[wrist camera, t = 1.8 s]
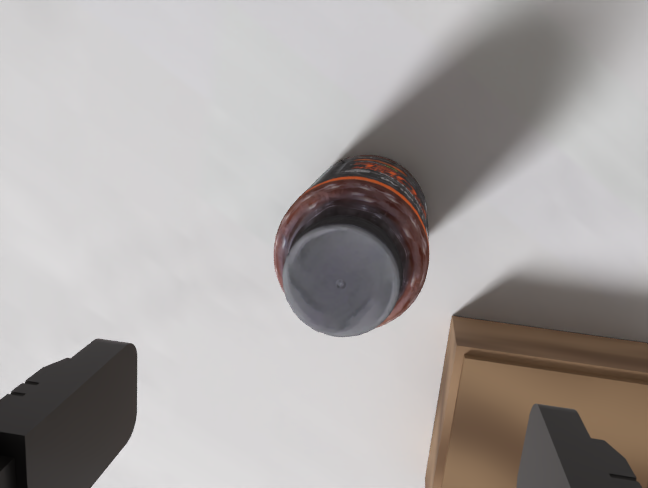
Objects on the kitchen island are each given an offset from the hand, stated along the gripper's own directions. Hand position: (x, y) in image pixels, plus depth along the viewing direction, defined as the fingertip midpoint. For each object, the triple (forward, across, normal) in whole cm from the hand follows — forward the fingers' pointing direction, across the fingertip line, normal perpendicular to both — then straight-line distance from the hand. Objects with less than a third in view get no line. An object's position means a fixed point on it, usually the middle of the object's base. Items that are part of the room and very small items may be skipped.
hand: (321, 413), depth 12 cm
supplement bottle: (+20, 0, 0) cm, 20 cm away
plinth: (+20, -9, +10) cm, 24 cm away
